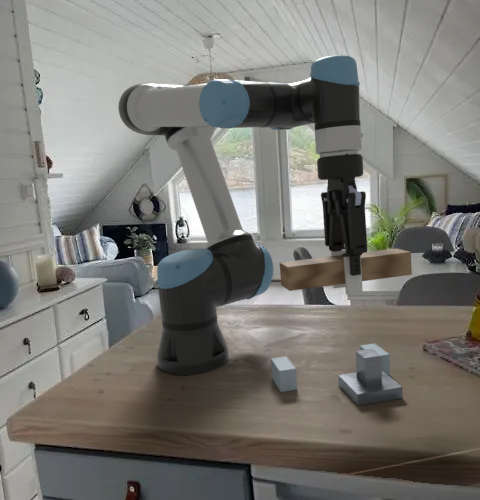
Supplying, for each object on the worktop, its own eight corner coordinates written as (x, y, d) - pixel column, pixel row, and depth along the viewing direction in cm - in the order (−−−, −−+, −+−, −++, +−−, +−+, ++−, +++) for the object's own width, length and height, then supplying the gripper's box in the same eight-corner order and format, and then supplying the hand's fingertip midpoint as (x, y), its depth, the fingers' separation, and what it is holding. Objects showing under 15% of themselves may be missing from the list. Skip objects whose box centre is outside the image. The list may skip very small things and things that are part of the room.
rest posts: (281, 392, 87) (279, 370, 86) (272, 378, 93) (270, 358, 92) (389, 374, 91) (389, 354, 90) (375, 362, 97) (374, 343, 96)
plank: (289, 290, 81) (287, 267, 80) (281, 285, 85) (279, 262, 85) (411, 274, 84) (410, 251, 84) (397, 270, 89) (396, 248, 89)
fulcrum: (357, 405, 80) (356, 365, 79) (338, 385, 88) (337, 348, 87) (402, 398, 82) (401, 358, 81) (380, 378, 89) (379, 342, 88)
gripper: (386, 148, 74) (393, 298, 77) (339, 156, 91) (346, 278, 95) (339, 152, 72) (348, 304, 76) (300, 159, 90) (309, 283, 93)
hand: (347, 289), depth 85 cm, fingers closed on plank, 5 cm apart
